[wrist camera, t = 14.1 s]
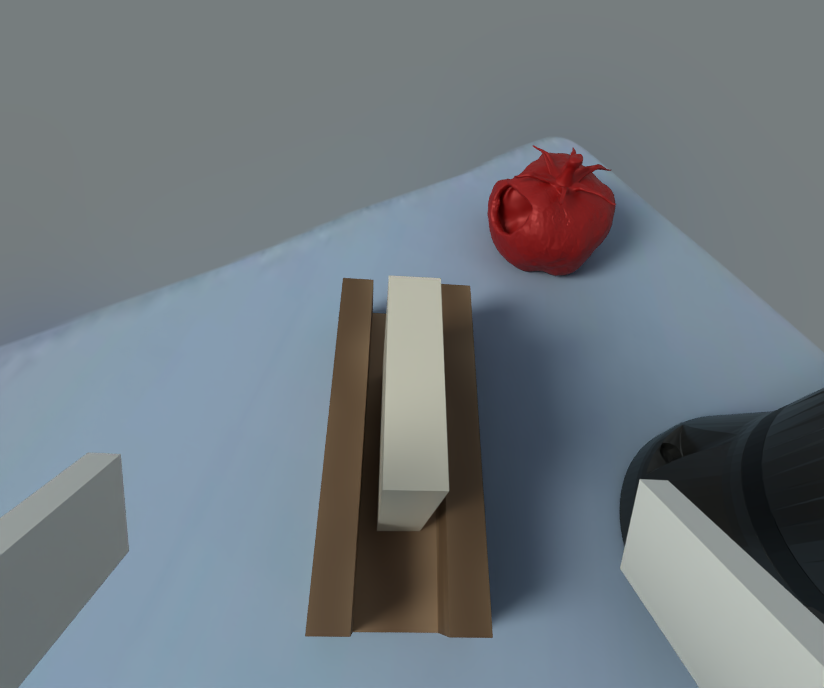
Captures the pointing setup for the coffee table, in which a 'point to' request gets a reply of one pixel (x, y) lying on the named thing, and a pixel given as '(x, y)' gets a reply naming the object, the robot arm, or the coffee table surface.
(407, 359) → the cream rectangular block
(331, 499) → the rack
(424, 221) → the coffee table surface
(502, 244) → the pomegranate
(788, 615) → the robot arm
